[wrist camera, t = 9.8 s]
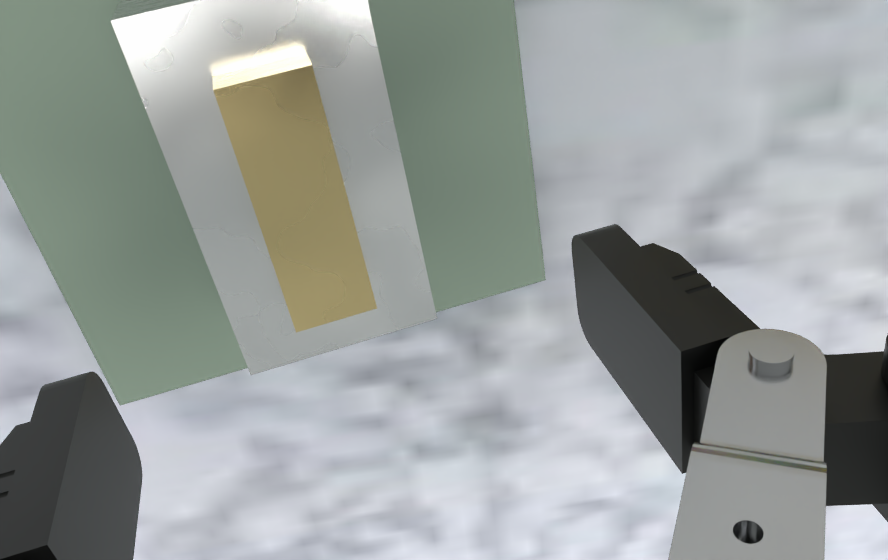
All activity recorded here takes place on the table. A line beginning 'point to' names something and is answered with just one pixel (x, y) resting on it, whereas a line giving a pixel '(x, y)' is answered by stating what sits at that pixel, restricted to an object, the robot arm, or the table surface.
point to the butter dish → (283, 166)
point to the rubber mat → (163, 214)
